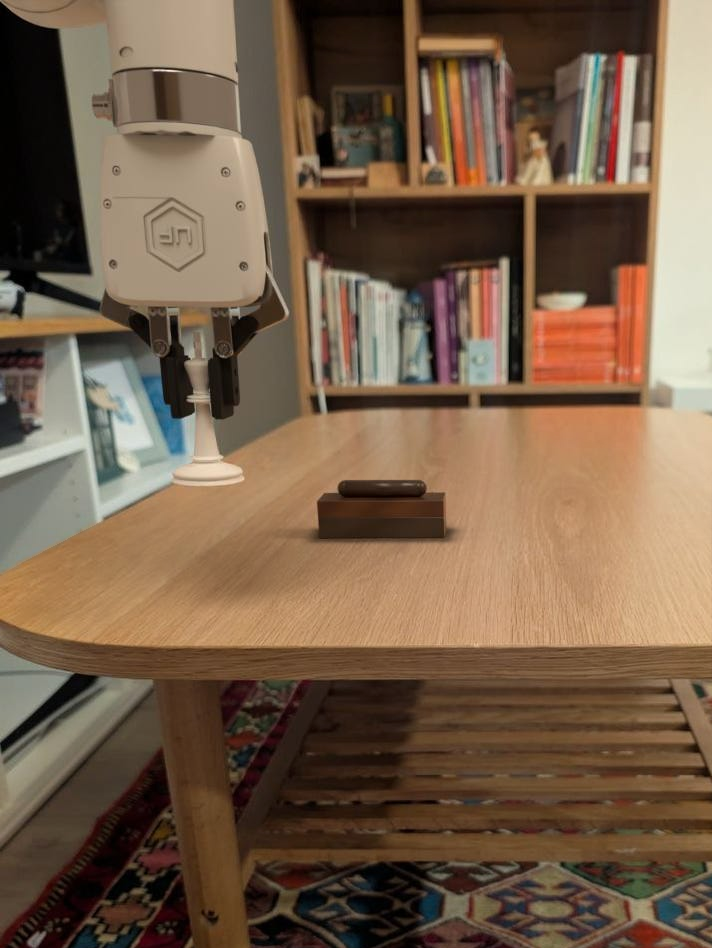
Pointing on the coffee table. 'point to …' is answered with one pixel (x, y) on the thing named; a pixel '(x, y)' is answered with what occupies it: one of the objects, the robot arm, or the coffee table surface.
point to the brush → (382, 510)
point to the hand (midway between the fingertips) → (203, 414)
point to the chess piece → (204, 433)
